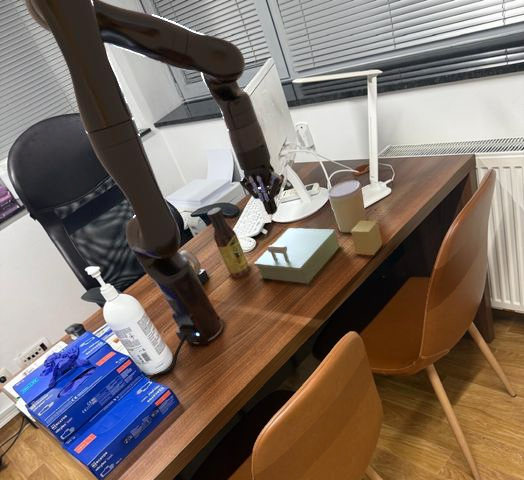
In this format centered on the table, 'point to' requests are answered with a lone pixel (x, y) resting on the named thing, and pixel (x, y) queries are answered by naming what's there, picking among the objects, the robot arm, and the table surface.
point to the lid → (295, 248)
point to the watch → (196, 266)
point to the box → (309, 269)
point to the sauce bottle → (228, 244)
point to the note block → (366, 237)
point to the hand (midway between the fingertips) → (272, 212)
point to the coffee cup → (347, 204)
